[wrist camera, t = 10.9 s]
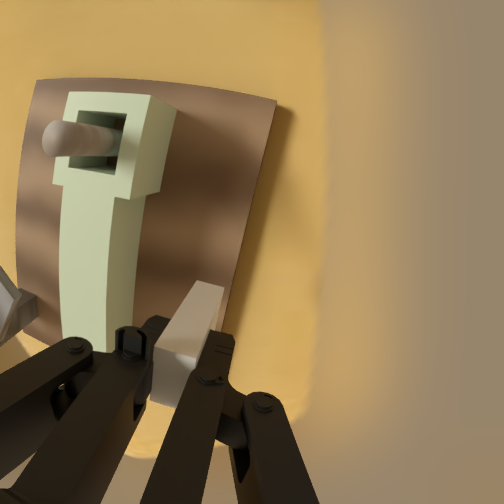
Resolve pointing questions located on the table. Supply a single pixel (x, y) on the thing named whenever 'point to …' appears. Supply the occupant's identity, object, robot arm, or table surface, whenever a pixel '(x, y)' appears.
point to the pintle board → (156, 205)
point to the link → (107, 212)
